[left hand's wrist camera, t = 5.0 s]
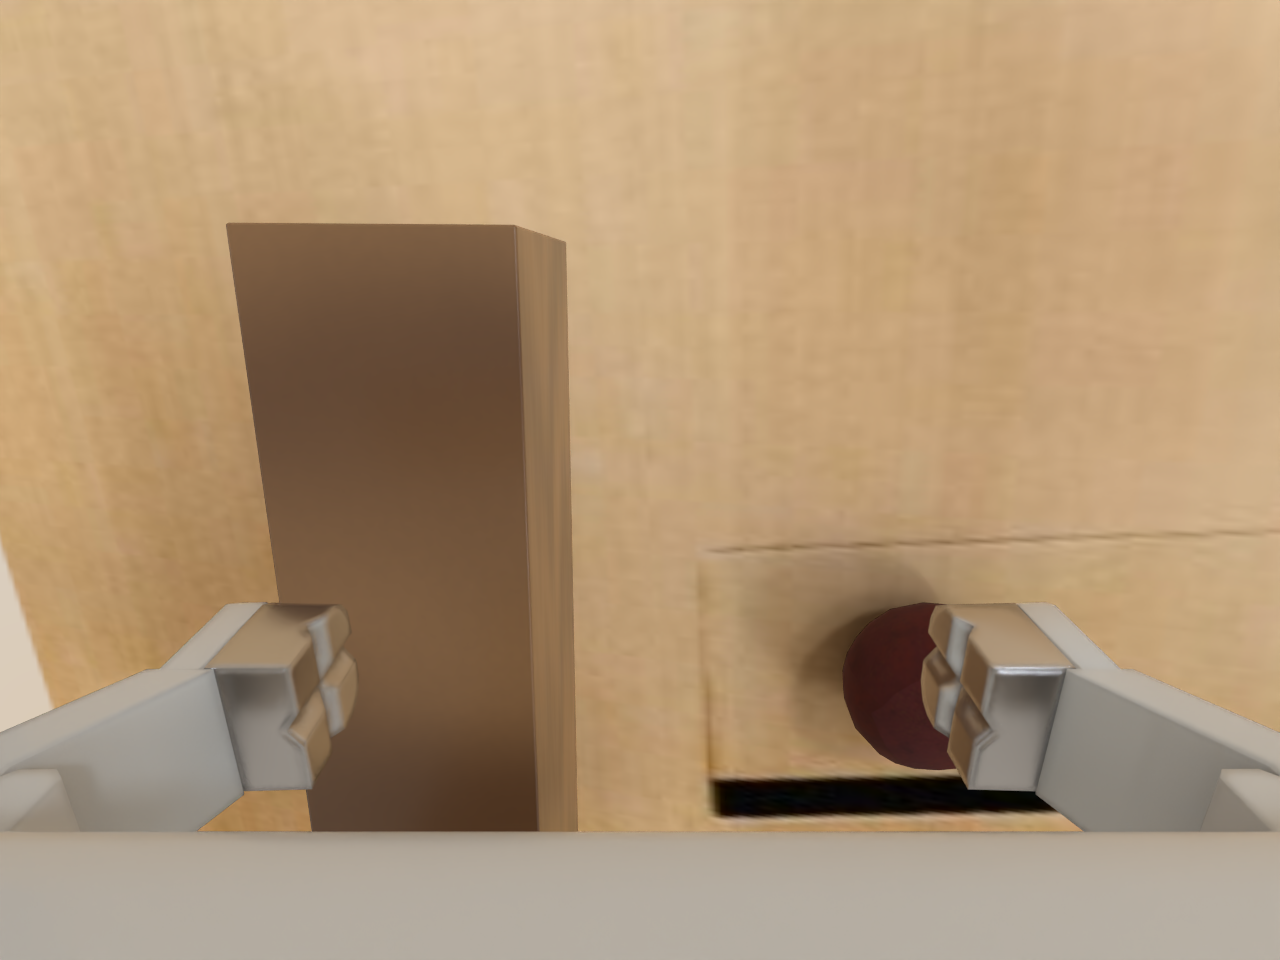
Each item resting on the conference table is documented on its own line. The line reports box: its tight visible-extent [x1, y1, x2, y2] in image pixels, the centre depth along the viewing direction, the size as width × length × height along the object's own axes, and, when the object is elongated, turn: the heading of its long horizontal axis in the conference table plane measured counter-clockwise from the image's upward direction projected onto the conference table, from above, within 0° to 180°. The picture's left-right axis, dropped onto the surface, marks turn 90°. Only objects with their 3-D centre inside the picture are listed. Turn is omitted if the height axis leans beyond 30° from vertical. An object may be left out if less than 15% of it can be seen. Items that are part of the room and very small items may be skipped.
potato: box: [843, 603, 956, 770], centre depth 32 cm, size 7×8×7 cm
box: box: [226, 223, 578, 832], centre depth 23 cm, size 28×6×10 cm, turn 0°
